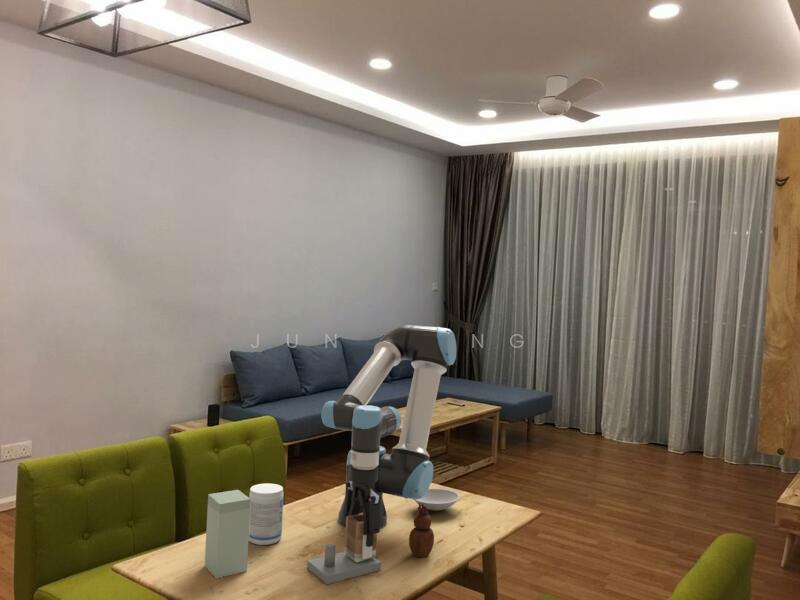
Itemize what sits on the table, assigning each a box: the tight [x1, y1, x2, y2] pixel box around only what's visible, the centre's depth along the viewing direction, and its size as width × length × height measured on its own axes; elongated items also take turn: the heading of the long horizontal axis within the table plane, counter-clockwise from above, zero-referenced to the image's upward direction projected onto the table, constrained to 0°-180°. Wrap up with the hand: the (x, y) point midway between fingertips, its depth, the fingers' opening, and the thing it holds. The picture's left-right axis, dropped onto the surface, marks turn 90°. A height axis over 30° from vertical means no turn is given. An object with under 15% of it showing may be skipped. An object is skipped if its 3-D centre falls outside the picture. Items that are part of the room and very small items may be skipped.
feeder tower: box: [204, 489, 251, 579], centre depth 161 cm, size 8×8×18 cm
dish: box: [412, 487, 461, 511], centre depth 211 cm, size 18×14×5 cm
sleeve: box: [343, 513, 378, 562], centre depth 167 cm, size 6×6×10 cm
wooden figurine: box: [408, 503, 435, 558], centre depth 175 cm, size 7×6×15 cm
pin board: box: [307, 543, 382, 585], centre depth 164 cm, size 16×10×7 cm, turn 127°
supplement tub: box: [248, 483, 284, 546], centre depth 180 cm, size 10×10×15 cm
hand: (359, 552), depth 167 cm, fingers open, 6 cm apart
